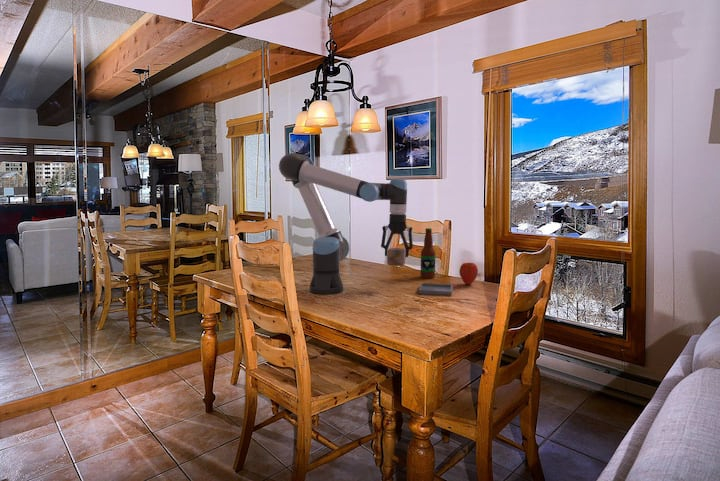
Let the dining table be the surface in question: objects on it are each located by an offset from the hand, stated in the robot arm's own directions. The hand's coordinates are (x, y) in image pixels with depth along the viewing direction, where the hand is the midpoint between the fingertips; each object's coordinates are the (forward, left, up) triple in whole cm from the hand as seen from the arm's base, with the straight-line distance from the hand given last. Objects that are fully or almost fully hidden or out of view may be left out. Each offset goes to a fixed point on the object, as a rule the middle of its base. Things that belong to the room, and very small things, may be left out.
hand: (396, 263), depth 212 cm
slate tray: (+18, -3, -11) cm, 22 cm away
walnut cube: (0, 0, 0) cm, 0 cm away
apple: (+32, +13, -11) cm, 37 cm away
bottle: (+12, +25, -11) cm, 30 cm away
